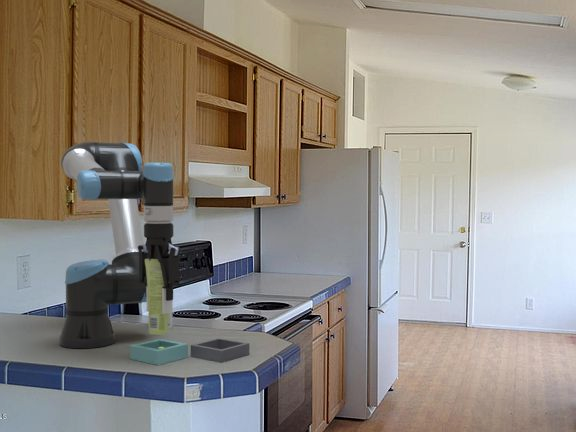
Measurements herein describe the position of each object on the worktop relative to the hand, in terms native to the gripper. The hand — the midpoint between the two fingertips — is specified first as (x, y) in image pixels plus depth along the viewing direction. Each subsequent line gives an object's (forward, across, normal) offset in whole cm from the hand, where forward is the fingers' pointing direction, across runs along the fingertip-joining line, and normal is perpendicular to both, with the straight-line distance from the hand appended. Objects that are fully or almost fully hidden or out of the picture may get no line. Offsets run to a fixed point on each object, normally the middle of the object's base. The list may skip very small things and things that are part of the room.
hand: (159, 311), depth 186 cm
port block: (+12, 0, 0) cm, 12 cm away
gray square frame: (+12, +10, +12) cm, 20 cm away
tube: (+6, 0, 0) cm, 6 cm away
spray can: (+12, -29, +28) cm, 42 cm away
